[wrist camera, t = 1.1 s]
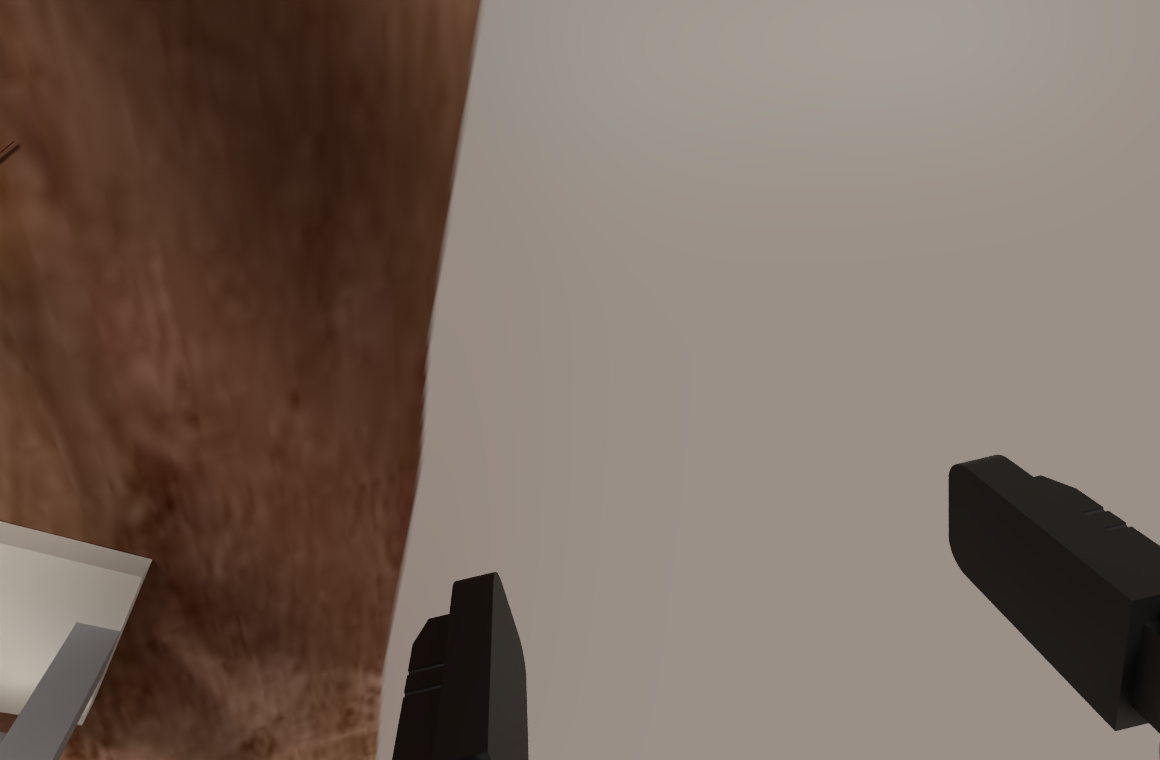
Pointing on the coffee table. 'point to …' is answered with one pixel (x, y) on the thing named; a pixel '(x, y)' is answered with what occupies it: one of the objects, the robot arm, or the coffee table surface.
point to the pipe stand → (57, 633)
